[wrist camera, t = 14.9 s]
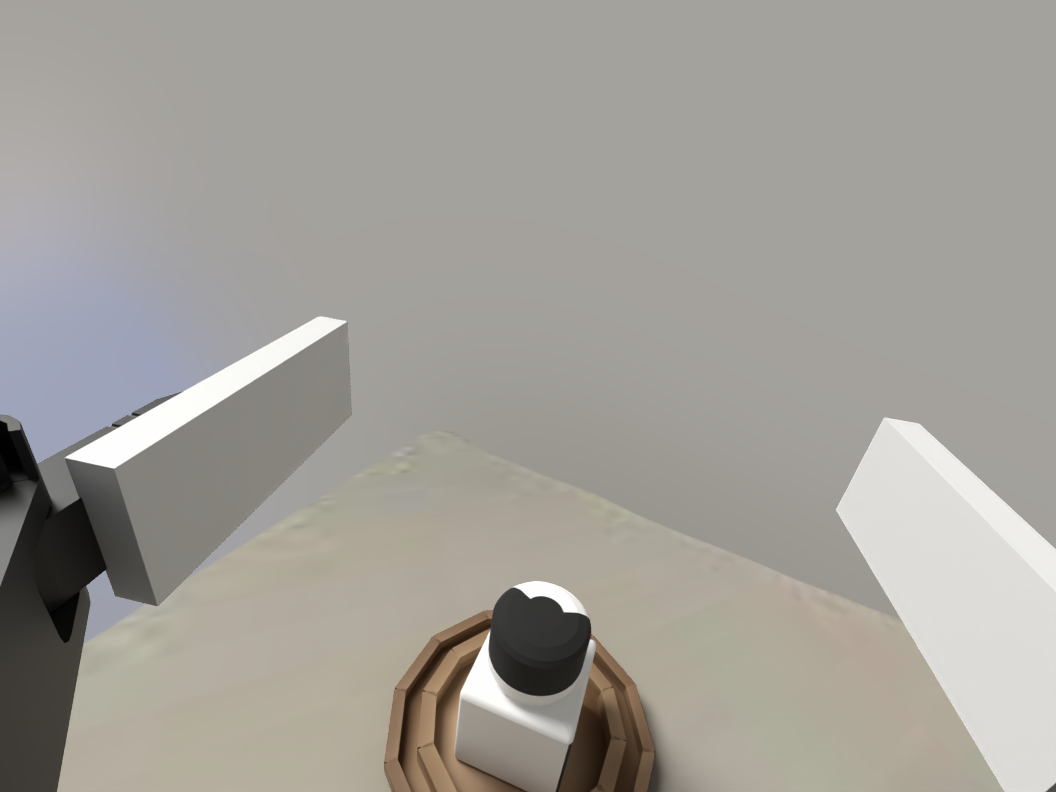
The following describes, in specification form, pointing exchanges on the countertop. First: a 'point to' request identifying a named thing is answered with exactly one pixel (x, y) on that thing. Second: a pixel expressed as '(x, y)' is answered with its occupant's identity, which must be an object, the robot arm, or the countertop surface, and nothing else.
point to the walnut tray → (432, 712)
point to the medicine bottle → (527, 688)
